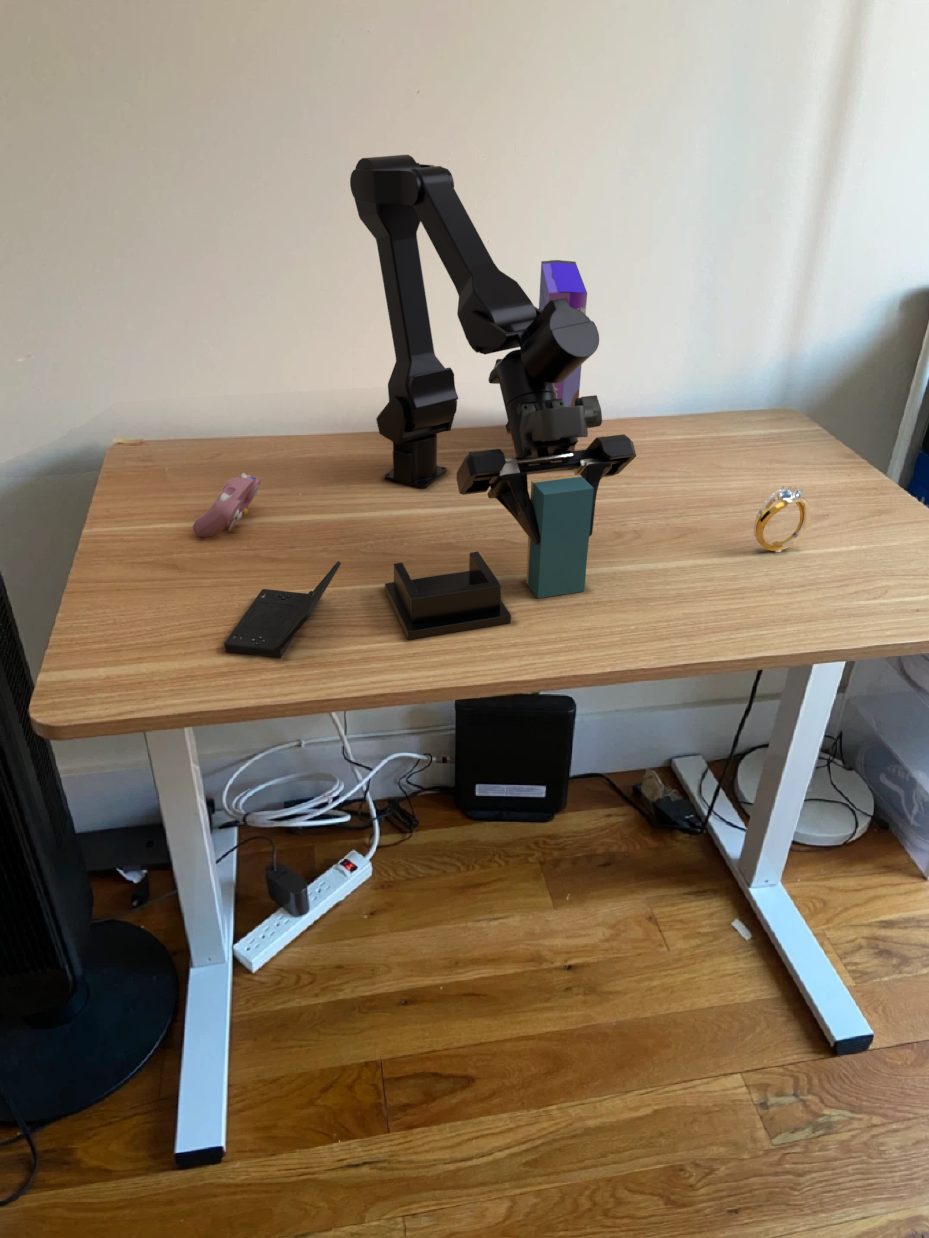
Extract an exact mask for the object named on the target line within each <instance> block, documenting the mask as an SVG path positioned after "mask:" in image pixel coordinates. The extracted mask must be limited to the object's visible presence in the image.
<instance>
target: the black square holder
mask: <svg viewBox="0 0 929 1238" xmlns="http://www.w3.org/2000/svg"><path fill="white" fill-rule="evenodd" d="M468 556H469V558H468V559H469V563H468V565H469V566H468V570H465V571H459V572H458V571H457V572H453V573H452V572H451V573H445V574H439V575H438V574H437V575H433V576H431V575H430V576H426V577H417V578H411V576H410V574H409V572H408V571H407V568H406V567H405V565H404V563H403V562H395V563H393V566H392V567H393V568H392V569H393V582H386V583H385V582H384V592H385V594H386V596H387V598H388V600H389V602H390V604H391V606H392V609H393V610H394V613H395V615H396V617H397V619H398V621H399V624H400V625H401V628H402V630H403V632H404V634H405V637H406V638H407V640H408V641H410V640H417V639H423V638H429V637H434V636H441V635H446V634H452V633H460V632H464V631H470V630H476V629H477V630H478V629H483V628H488V627H489V628H490V627H494V626H501V625H508V624H511V621H512V615H511V612H510V611H509V610H508V608H507V607H506V606H505V603H504V602H503V601H502V585H501V583H500V581H499V580H498V578H497V577H496V576H495V574H494V573H493V571H492V570H491V568H490V566H489V565H488V563H487V562H486V561H485V560H484V558H483V556H482V555H481V553H480V552H479V551H471V552H469V555H468Z"/></svg>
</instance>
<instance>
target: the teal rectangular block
mask: <svg viewBox="0 0 929 1238" xmlns="http://www.w3.org/2000/svg"><path fill="white" fill-rule="evenodd" d="M530 483H531V484H530V500H531V503H532V507H533V510H534V513H535V517H536V520H537V523H538V528H539V533H540V540H541V542H540V543H539V544H538V545H535V544H534V543H533V542H532V540H531V539H530V538H529V536H528V535H527V538H528V539H527V557H526V574H525V575H526V576H525V583H526V585H527V586H528V587H529V589H530V590H531V592H532V593H533V594H534V596H535V597H536V598H537V599H538V600H539V599H545V598H549V597H557V596H563V595H568V594H569V595H570V594H576V593H581V592H585V585H586V575H587V564H588V563H587V562H588V555H589V554H588V553H589V542H590V537H589V533H590V522H591V512H592V501H593V490H594V488H593V487H592V486H591V485H590V484H589V483H588V482H587V481H586V480H585V479H584V478H583V477H582V476H581V475H580V474H578V475H574V474H571V475H564V476H555V477H548V478H541V479H540V478H539V479H532V480H531V481H530Z"/></svg>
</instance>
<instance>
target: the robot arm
mask: <svg viewBox="0 0 929 1238" xmlns="http://www.w3.org/2000/svg"><path fill="white" fill-rule="evenodd" d="M349 186H350V191H351V195H352V197H353V198H354V202H355V206H356V211H357V214H358V217H359V220H361V222H362V223H363V225H364V226H365V227H366V229H367V230H368V231H369V233H371V236H373V237H374V238H375V241H376V246H377V247H376V248H377V252H378V253H377V254H378V259H379V264H380V271H381V276H382V277H381V278H382V283H383V288H384V295H385V300H386V301H385V302H386V305H387V307H386V308H387V312H388V319H389V325H390V331H391V337H392V343H393V350H394V355H395V363H394V366H393V368H392V371H391V374H390V377H389V379H388V382H387V392H388V402H387V403H386V405H385V406H384V407H383V408H382V410H381V411H380V412H379V414H378V415H377V417H376V425H377V429H378V434H379V435H381V436H382V437H384V438H386V439H387V440H389V441H391V442H392V468H391V469H390V470H389V471H388V472H386V473H384V474H383V478H384V480H388V481H393V482H396V483H401V484H405V485H408V486H413V487H419V488H421V489H425V488H428V487H429V486H430V485H431V484H433V483H434V482H435V481H437V480H438V479H439V478H441V477H442V476H443V475H444V474H446V473H447V472H448V468H447V467H446V466H442V465H438V434H441V433H444V432H446V433H447V432H451V431H452V427H453V424H454V420H455V415H456V413H457V410H458V409H457V407H458V400H459V395H458V393H457V389H456V382H455V373H454V371H453V369H452V368H451V367H450V366H449V367H445V366H444V365H443V363H442V362H441V361H440V359H439V358H438V357H437V356H436V353H435V347H434V339H433V334H432V328H431V321H430V315H429V314H430V313H429V309H428V308H429V307H428V302H427V295H426V294H427V293H426V288H425V281H424V275H423V268H422V261H421V255H420V247H419V242H418V235H417V234H418V230H419V227H420V225H422V226H423V228H424V230H425V232H426V234H427V236H428V238H429V240H430V242H431V244H432V246H433V247H434V249H435V251H436V253H437V255H438V257H439V259H440V261H441V263H442V265H443V266H444V269H445V270H446V272H447V274H448V276H449V278H450V280H451V282H452V283H453V286H454V287H455V291H456V293H457V296H458V302H457V312H456V314H457V315H456V316H457V318H458V321H459V323H460V325H461V328H462V331H463V333H464V337H465V339H466V340H467V343H468V345H469V347H470V348H471V349H472V350H473V351H474V352H475V353H479V354H482V355H489V354H494V353H499V352H503V351H508V350H511V351H509V352H508V353H507V354H505V356H504V357H502V358H497V359H496V360H495V364H494V366H493V369H492V370H491V371H490V373H489V376H488V383H489V384H494V385H495V384H497V385H499V387H500V392H501V396H502V401H503V405H504V410H505V414H506V419H507V422H506V424H505V431H506V434H507V435H510V436H511V440H512V444H513V448H514V452H515V453H514V454H515V457H509V458H506V457H505V453H504V452H503V450H502V449H501V448H494V449H485V450H476V451H475V450H474V451H469V452H468V453H467V454H466V456H465V457H464V459H463V461H462V462H461V464H460V466H459V468H458V469H457V472H456V484H457V489H458V492H459V493H458V494H459V495H463V496H465V495H474V494H482V493H487V498H488V499H495V500H497V501H498V502H499V503H500V504H501V505H502V506H503V507H504V508H505V509H506V510H507V512H509V514H510V515H511V516H512V517H513V518H514V519H515V521H516V522H517V523H518V525H519V526H520V527H521V529H522V530H523V531H524V533H525V534H526V535H527V537H528V536H529V538H530V539H531V540H532V542H533V543H534V544H535V545H538V544H539V543H540V542H541V540H540V533H539V528H538V523H537V520H536V517H535V513H534V510H533V507H532V503H531V500H530V499H531V496H530V494H529V486H528V485H529V484H528V475H536V474H546V473H553V472H560V471H562V472H563V471H568V470H569V471H570V470H572V469H573V470H572V471H573V475H578V474H580V475H581V476H582V477H583V478H584V479H585V480H586V481H587V482H588V483H589V484H590V485H591V486H592V487H593V488H594V490H593V501H592V512H591V522H590V533H589V538H590V537H591V536H592V535H593V530H594V520H595V512H596V501H597V494H598V490H599V485H600V482H601V480H602V479H603V478H608V477H613V476H616V475H618V474H620V473H621V472H623V470H624V469H625V468H626V467H627V466H628V465H629V464H630V463H631V462H632V461H633V460H634V459H635V458H637V453H636V449H635V445H634V442H633V441H632V439H630V437H628V436H627V435H626V434H615V435H614V434H613V435H606V436H598V437H595V438H594V439H593V441H592V442H591V443H590V444H589V445H588V446H587V447H586V449H578V450H575V451H570V449H569V447H570V446H575V447H576V445H577V443H578V442H579V438H587V437H588V435H589V434H588V429H591V428H598V427H601V426H602V423H603V415H602V414H603V413H602V408H601V407H602V406H601V404H600V402H599V398H598V395H596V394H595V395H586V396H581V397H579V398H576V400H575V406H570V407H565V403H564V402H563V400H562V399H557V395H556V391H555V387H554V383H559V382H561V381H563V380H565V379H566V378H567V377H568V376H569V375H570V374H571V373H572V372H573V371H575V370H576V369H577V368H578V367H579V366H580V365H581V364H582V365H583V364H584V363H585V362H586V361H587V360H588V359H589V358H590V357H591V356H593V355H594V353H596V351H597V350H598V348H599V345H600V334H599V330H598V326H597V325H596V323H595V322H594V321H593V320H591V319H590V317H589V316H587V314H586V315H585V314H584V313H583V312H581V311H580V310H578V309H575V308H573V307H570V305H569V303H568V301H567V299H566V298H559V299H553V300H550V301H549V302H548V303H547V304H546V305H545V307H544V309H543V311H541V310H540V309H539V307H536V305H534V303H533V301H532V300H531V299H530V297H529V296H528V295H527V293H526V292H525V290H524V288H522V287H521V285H520V284H519V283H518V281H517V280H515V279H514V278H512V277H511V276H510V275H508V274H506V273H505V272H503V271H501V270H500V269H499V268H498V266H497V265H496V264H495V262H494V260H493V259H492V256H491V254H490V253H489V251H488V248H487V247H486V245H485V243H484V242H483V240H482V238H481V236H480V234H479V232H478V231H477V228H476V227H475V225H474V223H473V220H472V219H471V217H470V215H469V214H468V211H467V210H466V208H465V206H464V204H463V203H462V201H461V199H460V197H459V195H458V193H457V191H456V190H455V181H454V177H453V174H452V172H451V171H450V170H449V169H448V168H446V167H443V166H441V165H434V164H424V163H422V164H421V163H419V162H417V161H416V160H415V158H414V157H412V156H411V155H410V154H397V155H385V156H373V157H372V156H371V157H361V158H360V159H359V160H358V161H357V163H356V164H355V168H354V169H353V170H352V172H351V173H350V178H349ZM519 348H520V349H519ZM512 349H513V350H512ZM582 365H581V366H582ZM561 461H562V462H561ZM489 488H490V489H489ZM488 490H489V491H488Z"/></svg>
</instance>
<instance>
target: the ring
mask: <svg viewBox="0 0 929 1238" xmlns="http://www.w3.org/2000/svg"><path fill="white" fill-rule="evenodd" d="M803 492H804V490H803V489H800V488H799V490H798V488H797V487H794V488H792V486H791V485H789V486H788V488H787V489H786V486H785V485H781V488H778V489H776V490H775V491H774V492H772V493H771V494H770V495H768V497H767V498H766V499H765V501H764V502H763V503H762V505H761V507H760V508H759V510H758V512H757V515H756V517H755V519H754V523H753V535H754V538H755V540H756V542H757V543H758V544H759V545H760V546H761V547H762V548H763V549H765V550H767V551H772V552H775V553H781V552H782V551H783V550H787V549H789V548H790V547H792V546H794V545H795V544H796V543H797V542H798V541H799V540H800V539H801V538H803V536H804V534H805V533H806V531H807V530H808V528H809V526H810V523H811V520H812V506H811V502H810V500H808V499H807V498H805V497H804V496H801V495H802V494H803ZM776 500H777V501H781V502H779V503H777V504H774V505H773V506H772V504H773V503H774V502H775V501H776ZM792 504H795V505H797V507H798V510H799V522H798V524H797V526H796V529H795V530H794V531H793V533H792V534H791V535H790V536H789V537H787V538H786V539H784V540H782V541H779V540H775V541H773V542H771V543H770V542H767V541H766V540H765V538H764V531H765V528H766V526H767V524H768V523H769V522H770V520H771V519H772V518H773V517H774V516H775V515H777V513H778V512H780V511H782V510H783V509H785V508H787V506H788V505H792ZM771 506H772V507H771ZM770 507H771V508H770Z"/></svg>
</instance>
